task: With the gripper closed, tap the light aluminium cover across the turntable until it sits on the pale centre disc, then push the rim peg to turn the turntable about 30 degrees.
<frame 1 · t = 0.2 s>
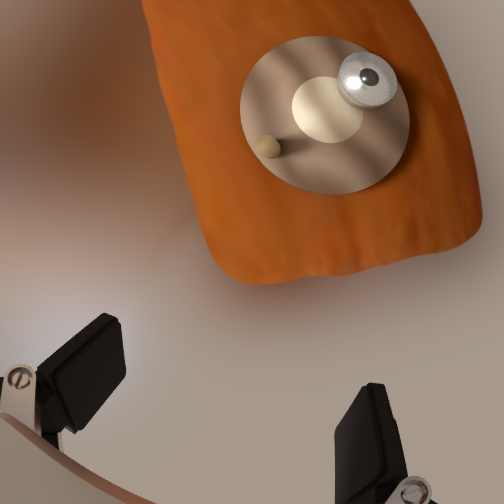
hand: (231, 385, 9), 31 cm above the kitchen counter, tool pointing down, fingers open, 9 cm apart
cover: (363, 85, 27), point 4 cm above the kitchen counter, touching turntable
turntable: (329, 105, 28), point 5 cm above the kitchen counter, hinge at 0.0°, touching cover
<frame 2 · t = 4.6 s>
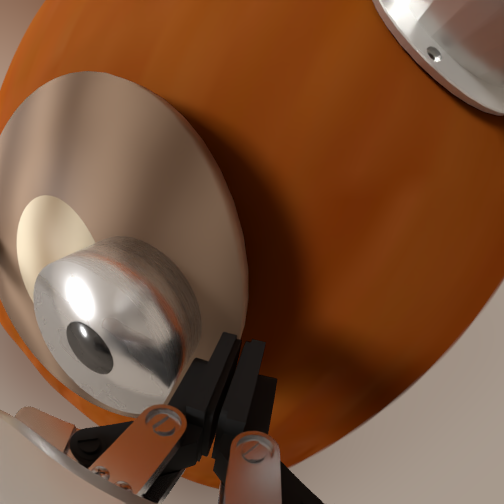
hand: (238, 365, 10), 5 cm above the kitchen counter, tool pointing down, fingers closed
cover: (133, 308, 12), point 4 cm above the kitchen counter, touching gripper, turntable
turntable: (33, 285, 11), point 5 cm above the kitchen counter, hinge at 0.0°, touching cover
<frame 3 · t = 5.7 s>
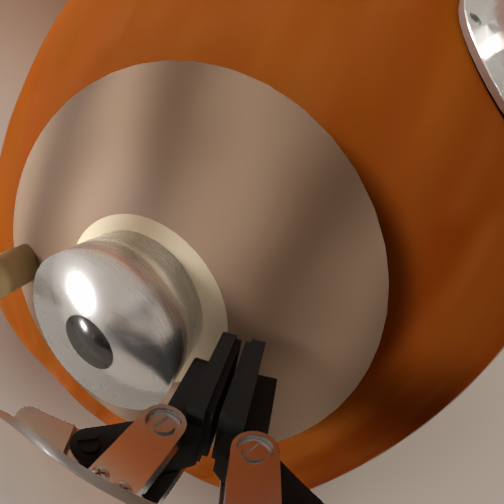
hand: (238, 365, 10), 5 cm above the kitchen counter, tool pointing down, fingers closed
cover: (133, 303, 12), point 4 cm above the kitchen counter, touching gripper, turntable
turntable: (115, 327, 10), point 5 cm above the kitchen counter, hinge at 0.0°, touching cover
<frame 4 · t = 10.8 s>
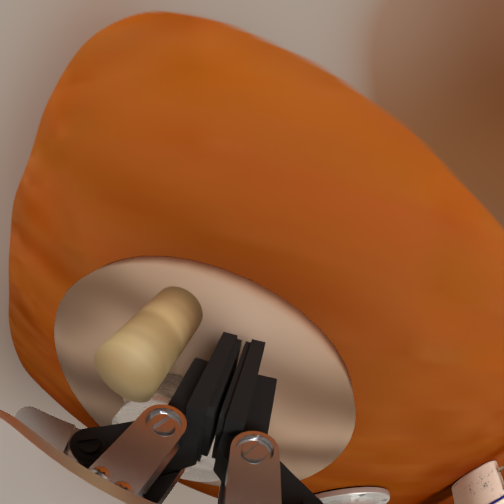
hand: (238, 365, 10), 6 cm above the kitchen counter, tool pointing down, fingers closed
cover: (186, 412, 15), point 4 cm above the kitchen counter, touching turntable
turntable: (171, 439, 13), point 5 cm above the kitchen counter, hinge at 1.4°, touching cover, gripper
teacup with lid: (480, 468, 19), on the kitchen counter
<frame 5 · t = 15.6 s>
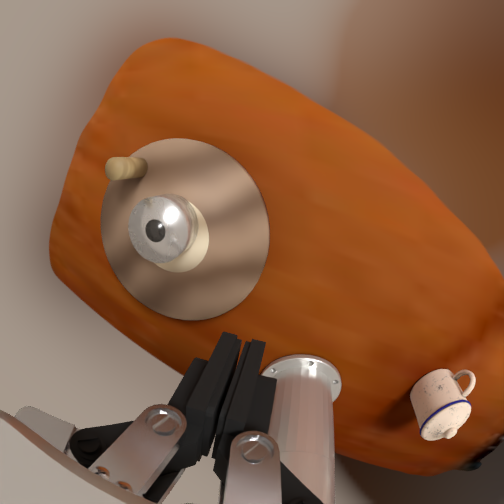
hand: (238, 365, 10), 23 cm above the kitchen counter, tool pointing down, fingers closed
cover: (170, 224, 30), point 4 cm above the kitchen counter, touching turntable
turntable: (165, 239, 29), point 5 cm above the kitchen counter, hinge at 37.0°, touching cover
teacup with lid: (437, 380, 34), on the kitchen counter
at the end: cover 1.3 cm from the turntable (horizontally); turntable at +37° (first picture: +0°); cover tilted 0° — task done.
